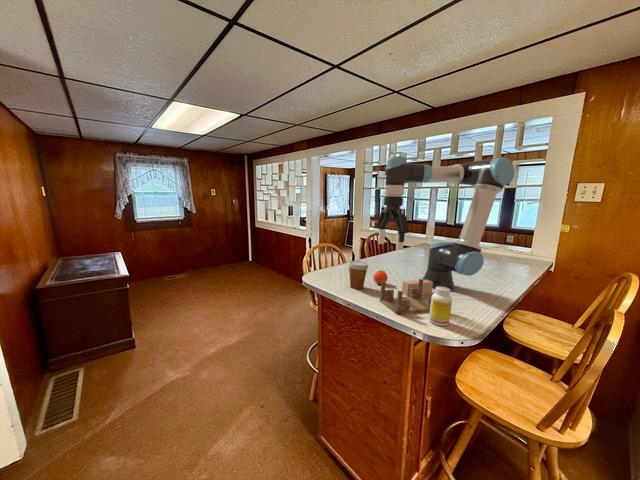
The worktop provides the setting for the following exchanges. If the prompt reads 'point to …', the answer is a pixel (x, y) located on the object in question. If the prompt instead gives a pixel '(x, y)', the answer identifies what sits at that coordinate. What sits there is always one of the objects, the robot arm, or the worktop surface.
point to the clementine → (380, 277)
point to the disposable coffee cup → (357, 274)
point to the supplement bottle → (440, 306)
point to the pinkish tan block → (414, 284)
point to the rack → (405, 300)
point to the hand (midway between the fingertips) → (389, 246)
